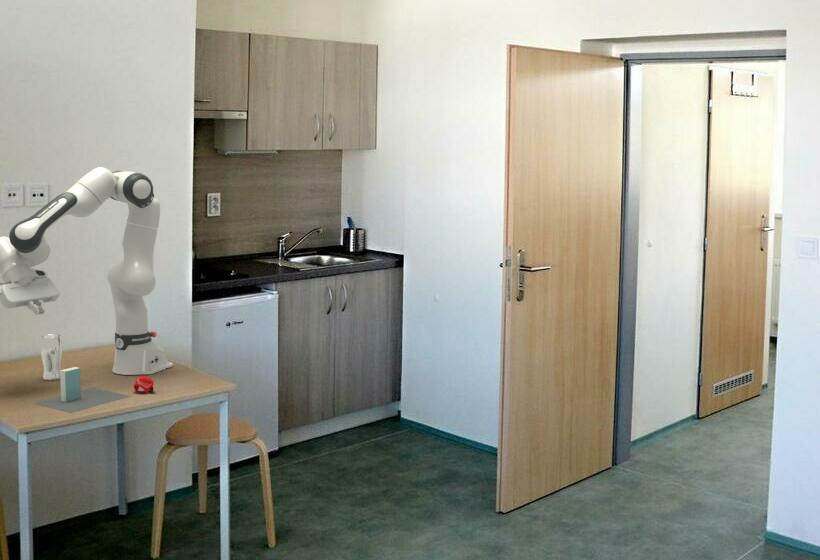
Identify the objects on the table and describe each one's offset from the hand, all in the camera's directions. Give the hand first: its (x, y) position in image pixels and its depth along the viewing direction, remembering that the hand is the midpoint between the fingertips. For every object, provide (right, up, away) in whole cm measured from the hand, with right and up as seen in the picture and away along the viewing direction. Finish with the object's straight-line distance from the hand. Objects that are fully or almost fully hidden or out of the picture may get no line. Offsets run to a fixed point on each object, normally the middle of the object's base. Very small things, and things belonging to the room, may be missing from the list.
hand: (40, 313), depth 332 cm
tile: (+11, -28, -3) cm, 30 cm away
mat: (+14, -28, -3) cm, 32 cm away
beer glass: (-5, -24, +26) cm, 35 cm away
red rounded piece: (+31, -27, +9) cm, 42 cm away
